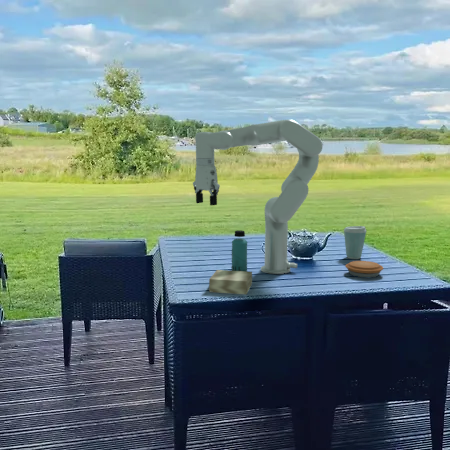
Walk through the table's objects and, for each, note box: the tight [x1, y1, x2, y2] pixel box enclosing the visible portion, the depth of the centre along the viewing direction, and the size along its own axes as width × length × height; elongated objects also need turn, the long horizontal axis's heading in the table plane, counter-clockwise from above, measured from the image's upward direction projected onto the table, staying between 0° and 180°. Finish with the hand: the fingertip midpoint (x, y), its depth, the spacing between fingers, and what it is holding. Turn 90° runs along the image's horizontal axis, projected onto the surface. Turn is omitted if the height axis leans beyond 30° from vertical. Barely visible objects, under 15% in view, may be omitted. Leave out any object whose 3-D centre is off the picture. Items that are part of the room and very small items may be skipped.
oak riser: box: [208, 269, 253, 295], centre depth 212 cm, size 14×14×5 cm
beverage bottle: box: [230, 229, 248, 272], centre depth 223 cm, size 6×7×20 cm
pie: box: [344, 260, 384, 278], centre depth 233 cm, size 16×16×5 cm
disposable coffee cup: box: [343, 225, 367, 260], centre depth 263 cm, size 11×11×15 cm
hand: (206, 203), depth 231 cm, fingers open, 9 cm apart
